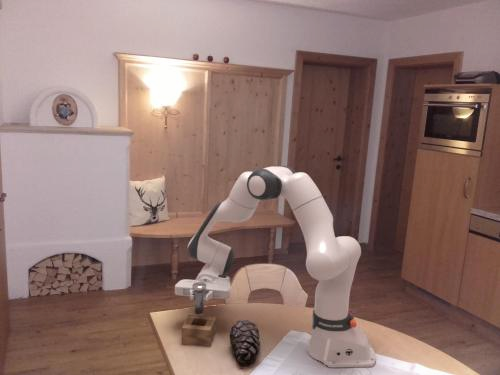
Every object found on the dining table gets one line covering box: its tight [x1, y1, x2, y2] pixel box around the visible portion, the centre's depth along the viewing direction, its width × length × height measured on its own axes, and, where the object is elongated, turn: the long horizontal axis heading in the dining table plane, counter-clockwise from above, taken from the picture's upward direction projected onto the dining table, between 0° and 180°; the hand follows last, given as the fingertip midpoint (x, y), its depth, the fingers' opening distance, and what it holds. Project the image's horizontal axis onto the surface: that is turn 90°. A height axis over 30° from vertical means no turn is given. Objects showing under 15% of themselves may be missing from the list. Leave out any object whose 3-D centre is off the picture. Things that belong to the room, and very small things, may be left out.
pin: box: [192, 283, 206, 315], centre depth 156 cm, size 5×5×10 cm
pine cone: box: [229, 319, 261, 370], centre depth 147 cm, size 10×18×10 cm, turn 12°
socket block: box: [181, 314, 217, 347], centre depth 158 cm, size 10×10×6 cm
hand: (198, 298), depth 155 cm, fingers closed on pin, 3 cm apart
